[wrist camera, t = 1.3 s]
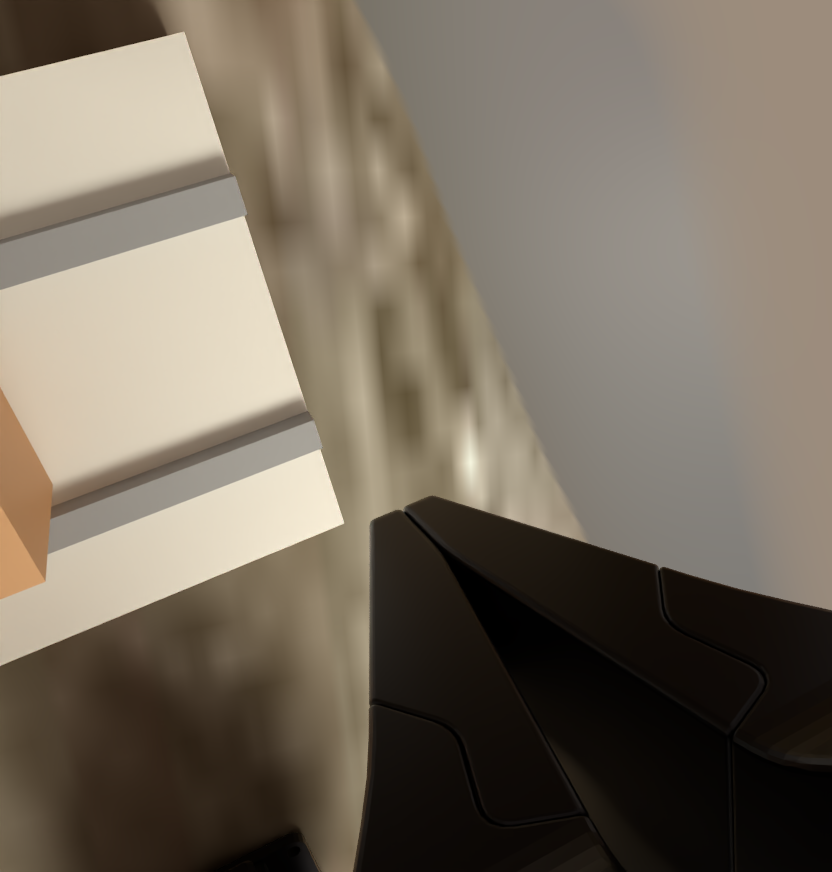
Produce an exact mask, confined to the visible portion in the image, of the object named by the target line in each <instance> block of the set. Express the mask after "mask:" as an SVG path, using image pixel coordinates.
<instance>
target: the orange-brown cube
mask: <svg viewBox="0 0 832 872" xmlns="http://www.w3.org/2000/svg"><path fill="white" fill-rule="evenodd" d="M52 490H53V484H52V482H51V480H50V478H49V477H48V475H47V473H46V471H45V469H44V467H43V465H42V464H41V462H40V460H39V458H38V456H37V454H36V452H35V451H34V449H33V447H32V445H31V443H30V441H29V439H28V438H27V436H26V434H25V432H24V430H23V428H22V427H21V425H20V423H19V421H18V419H17V417H16V415H15V414H14V412H13V410H12V408H11V406H10V404H9V402H8V401H7V399H6V397H5V395H4V393H3V391H2V390H1V388H0V599H3V598H6V597H8V596H11V595H13V594H16V593H18V592H21V591H23V590H26V589H28V588H31V587H33V586H36V585H38V584H41V583H44V582H45V581H46V568H47V555H48V542H49V529H50V516H51V503H52Z"/></svg>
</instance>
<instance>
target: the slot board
mask: <svg viewBox="0 0 832 872" xmlns="http://www.w3.org/2000/svg"><path fill="white" fill-rule="evenodd" d="M245 215H247V211H246V208H245V205H244V202H243V199H242V196H241V193H240V190H239V187H238V184H237V181H236V177H235V176H234V175H233V174H231V173H230V171H229V168H228V165H227V162H226V158H225V155H224V152H223V149H222V146H221V143H220V140H219V137H218V134H217V131H216V128H215V125H214V122H213V118H212V115H211V112H210V109H209V106H208V103H207V100H206V97H205V94H204V91H203V88H202V85H201V82H200V79H199V75H198V72H197V69H196V66H195V63H194V60H193V57H192V54H191V51H190V48H189V45H188V42H187V39H186V36H185V32H181V33H177V34H173V35H169V36H164V37H160V38H156V39H152V40H148V41H144V42H140V43H136V44H131V45H127V46H123V47H119V48H115V49H111V50H107V51H103V52H98V53H94V54H90V55H86V56H82V57H78V58H74V59H70V60H65V61H61V62H57V63H53V64H49V65H45V66H41V67H37V68H32V69H28V70H24V71H20V72H16V73H12V74H8V75H4V76H0V388H1V390H2V391H3V393H4V395H5V397H6V399H7V401H8V402H9V404H10V406H11V408H12V410H13V412H14V414H15V415H16V417H17V419H18V421H19V423H20V425H21V427H22V428H23V430H24V432H25V434H26V436H27V438H28V439H29V441H30V443H31V445H32V447H33V449H34V451H35V452H36V454H37V456H38V458H39V460H40V462H41V464H42V465H43V467H44V469H45V471H46V473H47V475H48V477H49V478H50V480H51V482H52V484H53V490H52V503H51V516H50V529H49V542H48V555H47V568H46V581H45V582H44V583H41V584H38V585H36V586H33V587H31V588H28V589H26V590H23V591H21V592H18V593H16V594H13V595H11V596H8V597H6V598H3V599H0V666H1V665H3V664H6V663H8V662H10V661H13V660H15V659H18V658H20V657H23V656H25V655H27V654H30V653H32V652H35V651H37V650H39V649H42V648H44V647H47V646H49V645H51V644H54V643H56V642H59V641H61V640H64V639H66V638H68V637H71V636H73V635H76V634H78V633H80V632H83V631H85V630H88V629H90V628H93V627H95V626H97V625H100V624H102V623H105V622H107V621H109V620H112V619H114V618H117V617H119V616H122V615H124V614H126V613H129V612H131V611H134V610H136V609H138V608H141V607H143V606H146V605H148V604H151V603H153V602H155V601H158V600H160V599H163V598H165V597H167V596H170V595H172V594H175V593H177V592H180V591H182V590H184V589H187V588H189V587H192V586H194V585H196V584H199V583H201V582H204V581H206V580H209V579H211V578H213V577H216V576H218V575H221V574H223V573H225V572H228V571H230V570H233V569H235V568H238V567H240V566H242V565H245V564H247V563H250V562H252V561H254V560H257V559H259V558H262V557H264V556H267V555H269V554H271V553H274V552H276V551H279V550H281V549H283V548H286V547H288V546H291V545H293V544H296V543H298V542H300V541H303V540H305V539H308V538H310V537H312V536H315V535H317V534H320V533H322V532H325V531H327V530H329V529H332V528H334V527H337V526H339V525H341V524H344V521H343V518H342V515H341V512H340V509H339V506H338V503H337V500H336V496H335V493H334V490H333V487H332V484H331V481H330V478H329V475H328V472H327V469H326V466H325V463H324V460H323V457H322V453H321V450H320V449H322V448H323V447H322V444H321V441H320V437H319V434H318V431H317V428H316V425H315V422H314V419H313V418H312V417H311V415H310V414H309V412H308V410H307V407H306V404H305V401H304V398H303V395H302V392H301V389H300V386H299V383H298V380H297V377H296V374H295V370H294V367H293V364H292V361H291V358H290V355H289V352H288V349H287V346H286V343H285V340H284V337H283V334H282V331H281V327H280V324H279V321H278V318H277V315H276V312H275V309H274V306H273V303H272V300H271V297H270V294H269V291H268V288H267V284H266V281H265V278H264V275H263V272H262V269H261V266H260V263H259V260H258V257H257V254H256V251H255V248H254V244H253V241H252V238H251V235H250V232H249V229H248V226H247V223H246V220H245V217H244V216H245Z"/></svg>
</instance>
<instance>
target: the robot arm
mask: <svg viewBox="0 0 832 872" xmlns="http://www.w3.org/2000/svg"><path fill="white" fill-rule="evenodd" d="M369 704H370V708H369V742H368V763H367V780H366V788H365V796H364V804H363V812H362V820H361V827H360V833H359V839H358V845H357V851H356V857H355V863H354V870H353V872H832V610H828V609H823V608H819V607H814V606H810V605H805V604H800V603H796V602H791V601H787V600H783V599H779V598H775V597H771V596H766V595H762V594H758V593H754V592H750V591H746V590H741V589H737V588H734V587H730V586H727V585H723V584H720V583H716V582H712V581H709V580H706V579H702V578H699V577H695V576H692V575H689V574H685V573H682V572H679V571H676V570H672V569H669V568H666V567H662V568H660V570H659V568H658V566H657V565H656V564H652V563H649V562H646V561H642V560H639V559H636V558H633V557H630V556H627V555H623V554H620V553H617V552H614V551H610V550H607V549H604V548H600V547H597V546H594V545H591V544H588V543H585V542H581V541H578V540H575V539H572V538H569V537H565V536H562V535H559V534H556V533H552V532H549V531H546V530H543V529H540V528H536V527H533V526H530V525H527V524H523V523H520V522H517V521H514V520H511V519H507V518H504V517H501V516H498V515H494V514H491V513H488V512H485V511H481V510H478V509H475V508H472V507H469V506H465V505H462V504H459V503H456V502H452V501H449V500H446V499H443V498H440V497H436V496H428V497H426V498H424V499H421V500H419V501H417V502H414V503H412V504H409V505H407V506H405V507H404V509H403V511H401V510H395V511H393V512H390V513H388V514H385V515H383V516H381V517H378V518H376V519H374V520H372V521H371V523H370V632H369ZM215 872H320V870H319V868H318V865H317V863H316V861H315V859H314V857H313V855H312V853H311V851H310V849H309V847H308V844H307V842H306V840H305V838H304V836H303V835H302V834H300V833H291V834H288V835H286V836H284V837H282V838H280V839H278V840H276V841H274V842H272V843H270V844H268V845H266V846H264V847H262V848H260V849H258V850H256V851H254V852H252V853H250V854H248V855H246V856H244V857H242V858H240V859H238V860H236V861H234V862H232V863H231V864H229V865H227V866H225V867H223V868H221V869H219V870H217V871H215Z"/></svg>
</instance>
